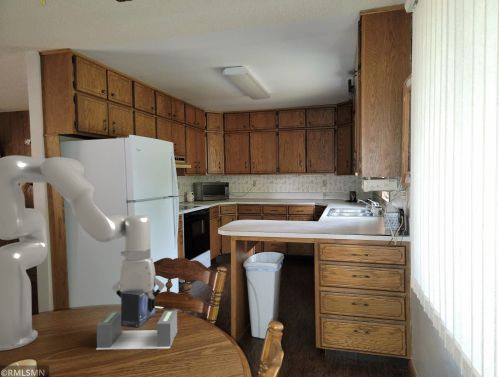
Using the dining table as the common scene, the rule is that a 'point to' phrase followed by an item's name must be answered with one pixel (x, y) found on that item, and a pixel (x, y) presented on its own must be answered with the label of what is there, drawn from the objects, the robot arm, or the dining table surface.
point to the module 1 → (109, 329)
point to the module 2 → (166, 328)
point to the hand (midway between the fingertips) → (139, 310)
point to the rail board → (136, 340)
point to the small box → (135, 308)
